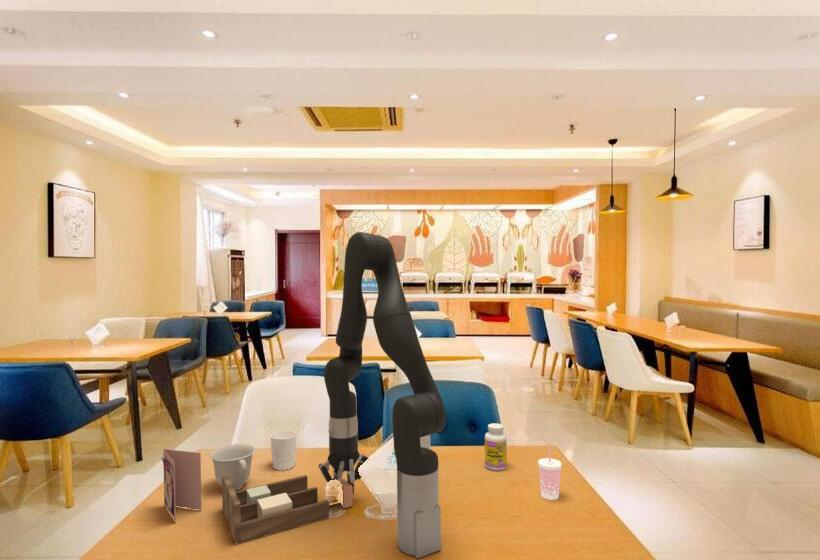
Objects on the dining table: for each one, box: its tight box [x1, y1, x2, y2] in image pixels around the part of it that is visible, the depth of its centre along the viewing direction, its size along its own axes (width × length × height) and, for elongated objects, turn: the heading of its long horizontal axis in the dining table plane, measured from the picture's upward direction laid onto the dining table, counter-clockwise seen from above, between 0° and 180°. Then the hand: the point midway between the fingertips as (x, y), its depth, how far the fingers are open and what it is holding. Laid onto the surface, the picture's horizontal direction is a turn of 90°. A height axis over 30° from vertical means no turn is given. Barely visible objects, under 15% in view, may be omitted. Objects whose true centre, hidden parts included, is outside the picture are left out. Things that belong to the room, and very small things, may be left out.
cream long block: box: [257, 477, 354, 518], centre depth 118 cm, size 6×23×5 cm, turn 120°
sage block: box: [245, 484, 271, 504], centre depth 120 cm, size 5×5×5 cm
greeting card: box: [160, 448, 202, 523], centre depth 120 cm, size 11×7×15 cm, turn 40°
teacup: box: [209, 443, 256, 491], centre depth 132 cm, size 12×15×10 cm
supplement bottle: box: [484, 422, 508, 472], centre depth 145 cm, size 7×7×13 cm
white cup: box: [270, 430, 298, 471], centre depth 147 cm, size 8×8×10 cm
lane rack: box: [221, 474, 330, 545], centre depth 118 cm, size 18×22×9 cm
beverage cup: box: [537, 443, 563, 501], centre depth 126 cm, size 6×6×14 cm
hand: (344, 497), depth 123 cm, fingers closed on cream long block, 2 cm apart
